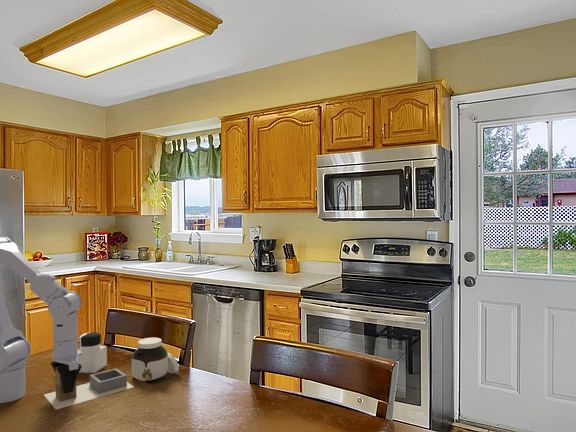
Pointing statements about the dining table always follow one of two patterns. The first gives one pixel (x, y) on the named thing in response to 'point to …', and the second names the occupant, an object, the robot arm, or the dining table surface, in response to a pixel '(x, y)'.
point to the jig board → (94, 388)
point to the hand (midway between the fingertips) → (66, 389)
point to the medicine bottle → (92, 353)
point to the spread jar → (152, 361)
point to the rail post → (59, 389)
